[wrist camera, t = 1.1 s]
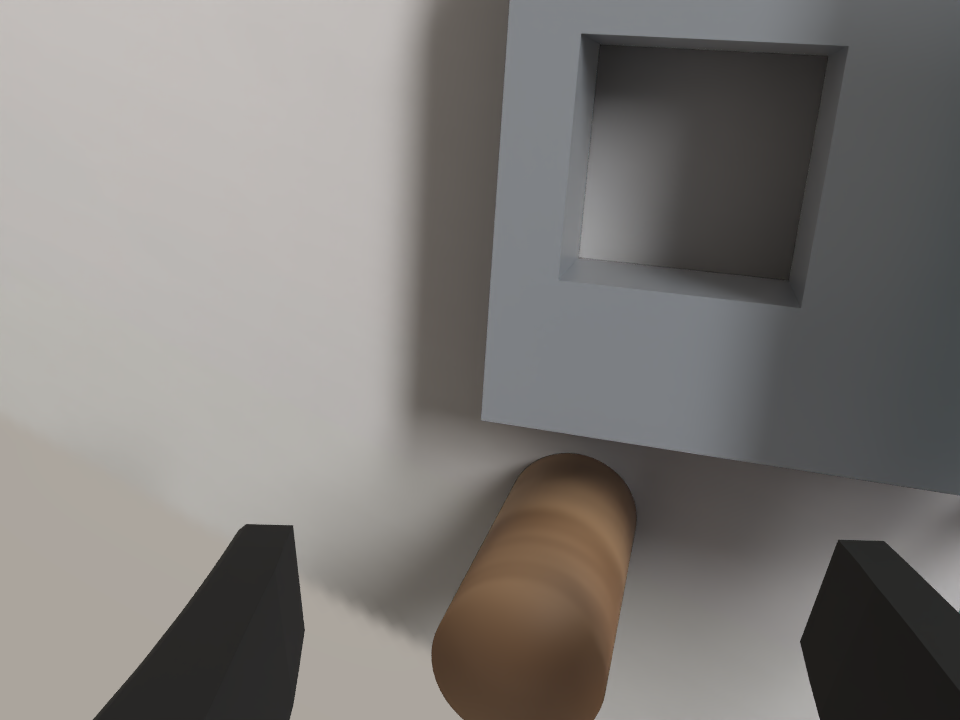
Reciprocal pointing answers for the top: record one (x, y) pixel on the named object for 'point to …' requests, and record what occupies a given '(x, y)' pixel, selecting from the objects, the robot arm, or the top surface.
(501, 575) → the peg
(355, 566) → the top surface
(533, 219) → the socket block
